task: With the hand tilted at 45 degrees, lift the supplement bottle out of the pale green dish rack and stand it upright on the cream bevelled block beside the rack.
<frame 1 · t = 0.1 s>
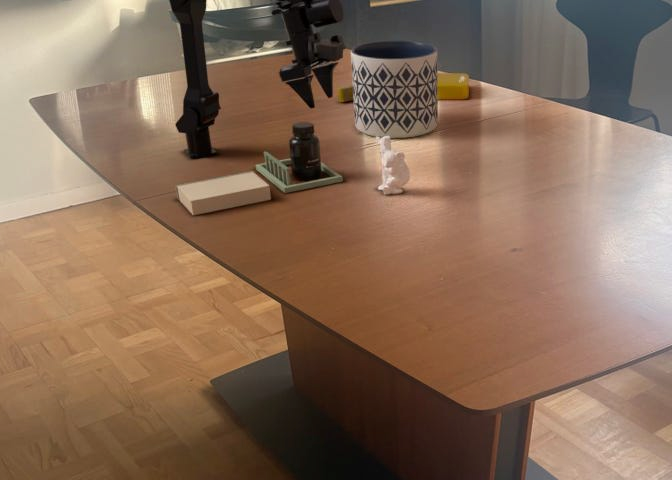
hand: (321, 102, 189), 15 cm above the table, tool pointing down, fingers open, 9 cm apart
supplement bottle: (307, 177, 192), resting in dish rack
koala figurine: (392, 192, 184), on the table
cream bevelled block: (225, 199, 180), on the table
planter: (396, 127, 225), on the table
medication box: (356, 100, 249), on the table
dish rack: (298, 175, 193), on the table
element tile: (444, 94, 255), on the table
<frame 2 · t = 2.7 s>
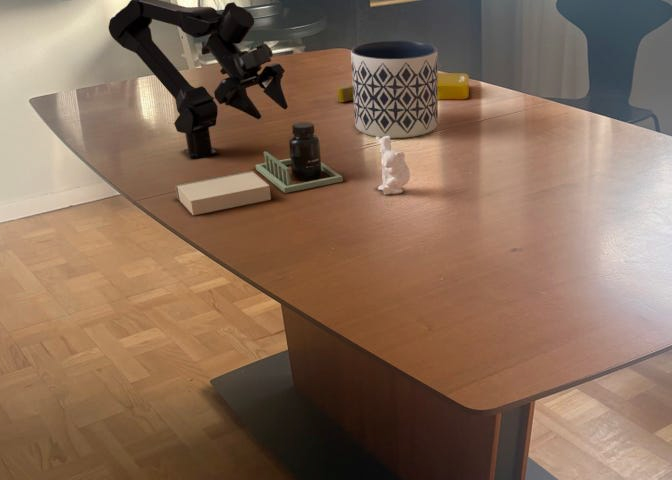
hand: (273, 113, 189), 14 cm above the table, tool tilted 45°, fingers open, 9 cm apart
nothing on the table moved.
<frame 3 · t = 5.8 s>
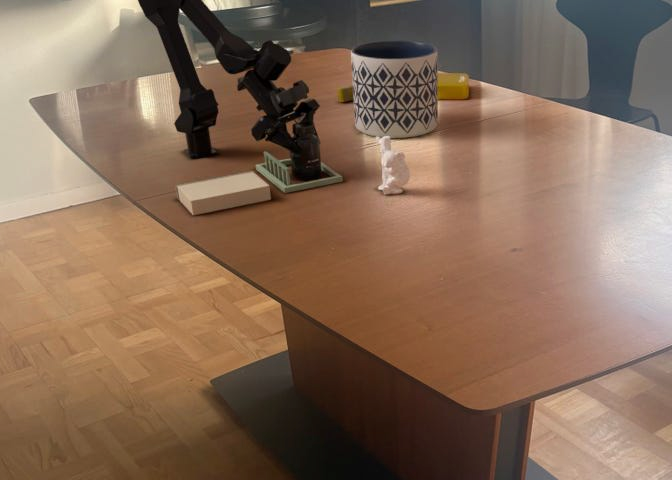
hand: (309, 149, 188), 7 cm above the table, tool tilted 45°, fingers closed on supplement bottle, 7 cm apart
supplement bottle: (307, 177, 192), resting in dish rack, touching gripper
everything else where it was.
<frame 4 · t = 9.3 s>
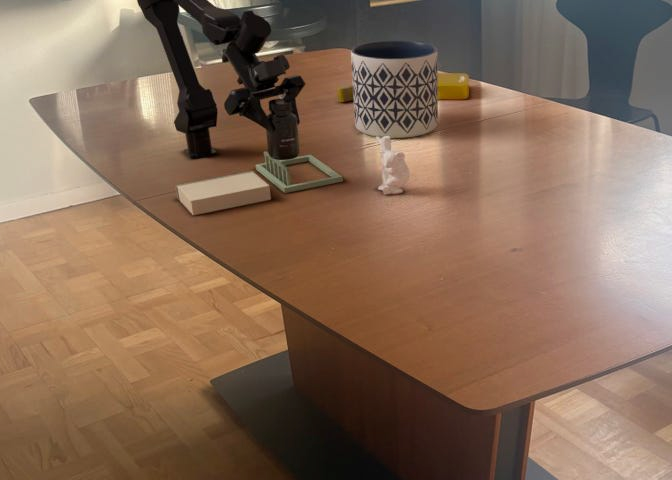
hand: (285, 127, 180), 13 cm above the table, tool tilted 45°, fingers closed on supplement bottle, 7 cm apart
supplement bottle: (284, 156, 184), point 6 cm above the table, touching gripper
everything else where it was.
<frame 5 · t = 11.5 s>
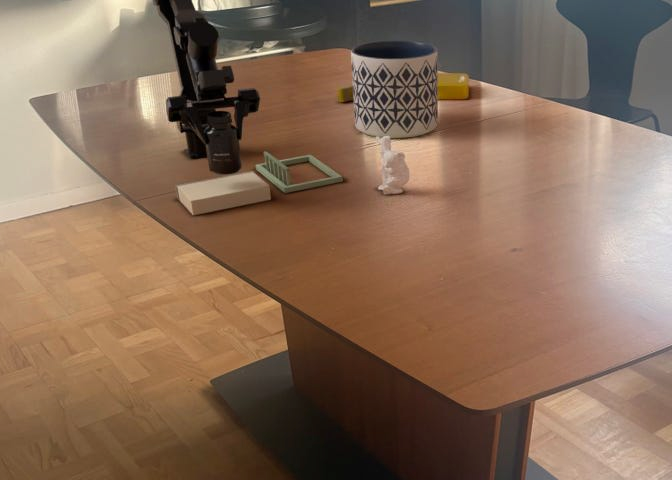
hand: (223, 141, 172), 13 cm above the table, tool tilted 45°, fingers closed on supplement bottle, 7 cm apart
supplement bottle: (226, 170, 177), point 6 cm above the table, touching gripper
everything else where it was.
when the fingers open (10 cm above the table, at t = 13.2 s): supplement bottle stays where it is, resting on cream bevelled block.
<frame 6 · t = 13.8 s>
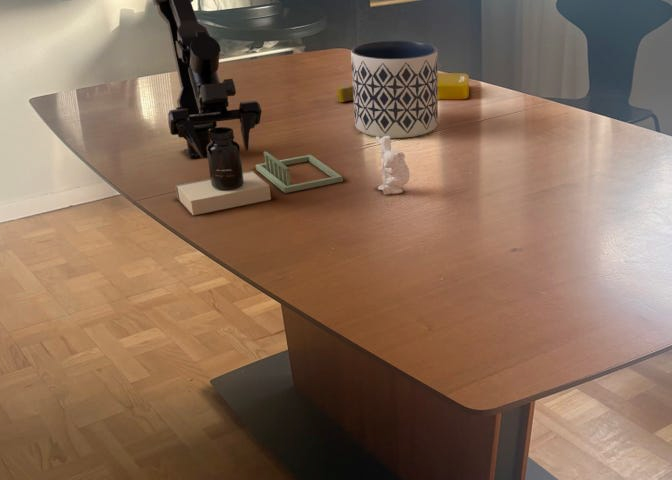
hand: (225, 153, 173), 11 cm above the table, tool tilted 45°, fingers open, 9 cm apart
supplement bottle: (228, 186, 178), point 3 cm above the table, touching cream bevelled block
everything else where it was.
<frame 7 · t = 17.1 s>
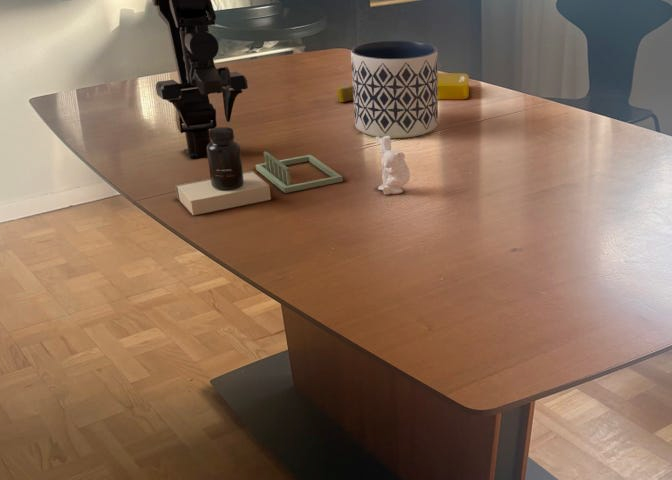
hand: (208, 124, 186), 12 cm above the table, tool pointing down, fingers open, 9 cm apart
nothing on the table moved.
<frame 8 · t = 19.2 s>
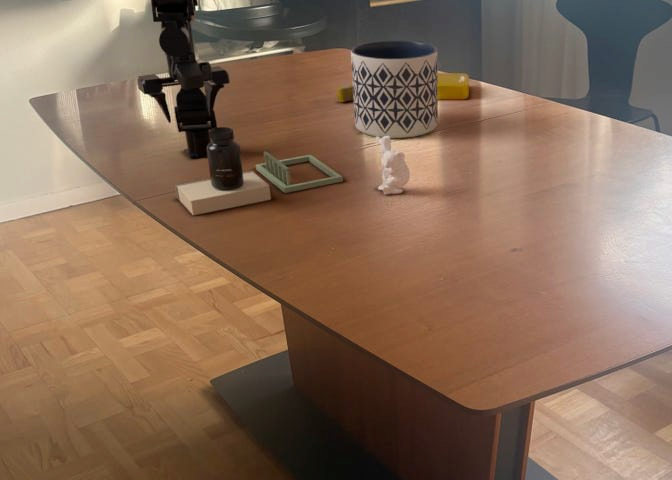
hand: (190, 119, 186), 13 cm above the table, tool pointing down, fingers open, 9 cm apart
nothing on the table moved.
at the end: supplement bottle inside the target area on the cream bevelled block (0.8 cm from its centre), point 3.0 cm above the cream bevelled block's base; supplement bottle tilted 0°; the gripper is holding nothing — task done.
